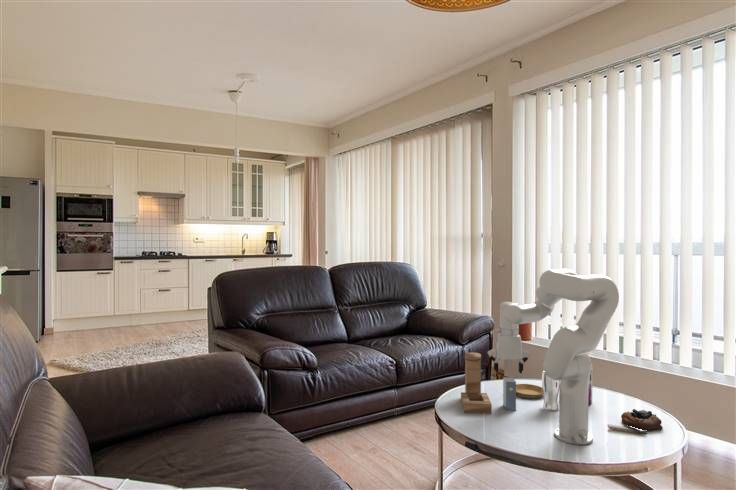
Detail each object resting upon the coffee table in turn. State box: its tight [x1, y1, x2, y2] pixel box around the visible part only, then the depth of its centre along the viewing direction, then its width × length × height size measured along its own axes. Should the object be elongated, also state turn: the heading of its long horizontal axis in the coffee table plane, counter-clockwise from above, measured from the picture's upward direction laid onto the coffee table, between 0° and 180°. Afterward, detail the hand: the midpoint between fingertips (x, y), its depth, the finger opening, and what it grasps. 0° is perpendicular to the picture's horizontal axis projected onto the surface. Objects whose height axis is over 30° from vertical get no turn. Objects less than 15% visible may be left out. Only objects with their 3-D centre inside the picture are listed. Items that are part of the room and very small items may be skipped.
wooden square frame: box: [460, 351, 493, 415], centre depth 199 cm, size 20×11×20 cm, turn 174°
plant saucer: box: [516, 383, 544, 399], centre depth 211 cm, size 15×15×3 cm
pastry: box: [620, 408, 663, 432], centre depth 176 cm, size 11×12×6 cm
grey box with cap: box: [502, 376, 517, 412], centre depth 194 cm, size 7×4×12 cm, turn 174°
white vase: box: [541, 370, 561, 412], centre depth 194 cm, size 7×7×15 cm
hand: (508, 372), depth 195 cm, fingers open, 9 cm apart
